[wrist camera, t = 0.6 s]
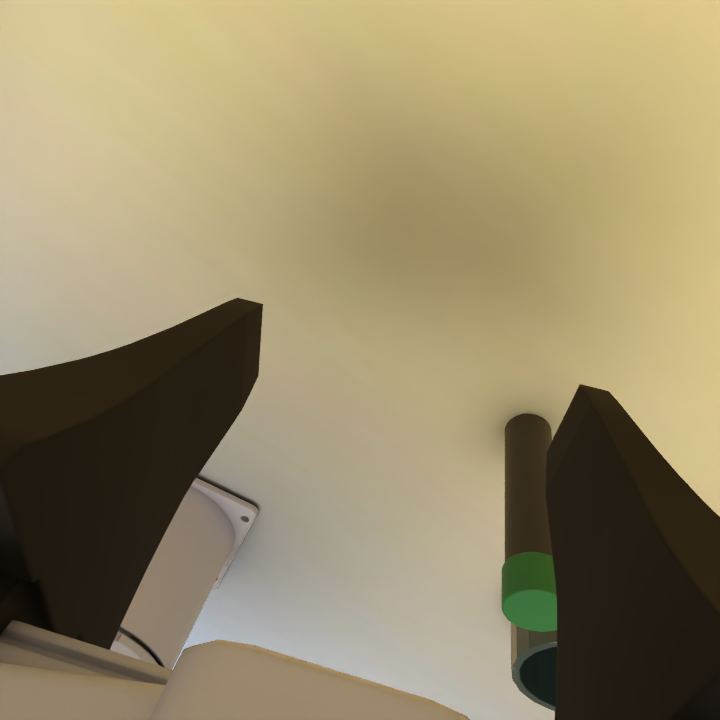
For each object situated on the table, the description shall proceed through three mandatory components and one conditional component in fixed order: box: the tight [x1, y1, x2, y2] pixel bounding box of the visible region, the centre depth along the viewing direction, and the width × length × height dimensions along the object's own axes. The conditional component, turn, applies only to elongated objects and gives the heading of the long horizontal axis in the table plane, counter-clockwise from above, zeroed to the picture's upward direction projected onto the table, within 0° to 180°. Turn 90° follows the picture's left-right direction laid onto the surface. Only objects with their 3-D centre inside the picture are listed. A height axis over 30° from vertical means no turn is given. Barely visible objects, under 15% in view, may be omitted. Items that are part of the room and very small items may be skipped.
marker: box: [502, 415, 557, 632], centre depth 22 cm, size 2×2×9 cm
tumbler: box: [511, 622, 557, 711], centre depth 29 cm, size 7×7×4 cm
